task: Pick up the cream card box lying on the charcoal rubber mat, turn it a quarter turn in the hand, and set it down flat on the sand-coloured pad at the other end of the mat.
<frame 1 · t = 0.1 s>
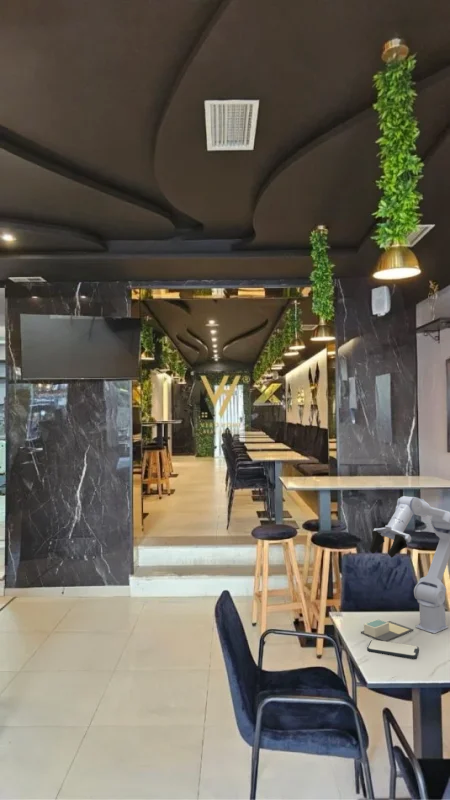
hand: (380, 553, 179), 32 cm above the table, tool tilted 50°, fingers open, 7 cm apart
phone case: (393, 652, 176), on the table
card box: (376, 632, 189), point 1 cm above the table, touching mat
mat: (387, 632, 191), on the table
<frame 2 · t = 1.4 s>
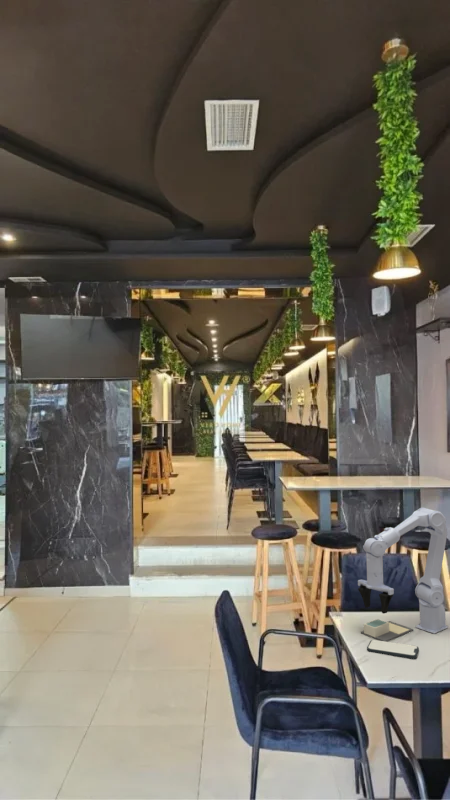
hand: (375, 609, 190), 9 cm above the table, tool pointing down, fingers open, 7 cm apart
nothing on the table moved.
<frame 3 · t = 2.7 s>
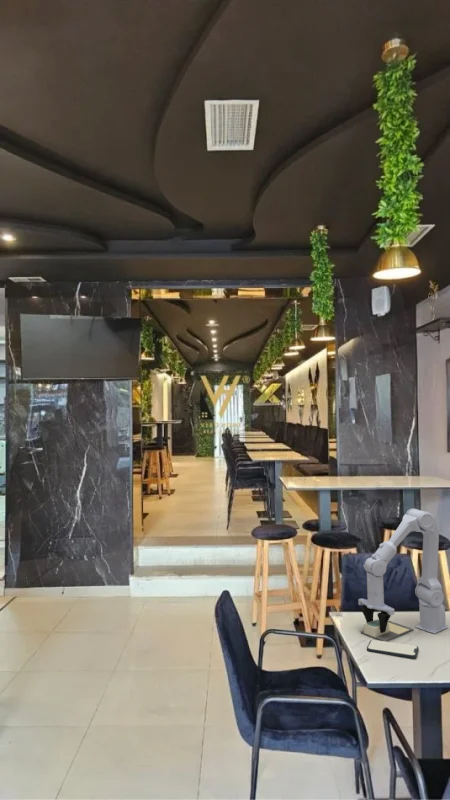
hand: (376, 629, 189), 2 cm above the table, tool pointing down, fingers closed on card box, 5 cm apart
card box: (376, 632, 189), point 1 cm above the table, touching gripper, mat
everything else where it was.
when the fingers open (3 cm above the table, at t = 6.2 s): card box drops 1 cm, resting on mat.
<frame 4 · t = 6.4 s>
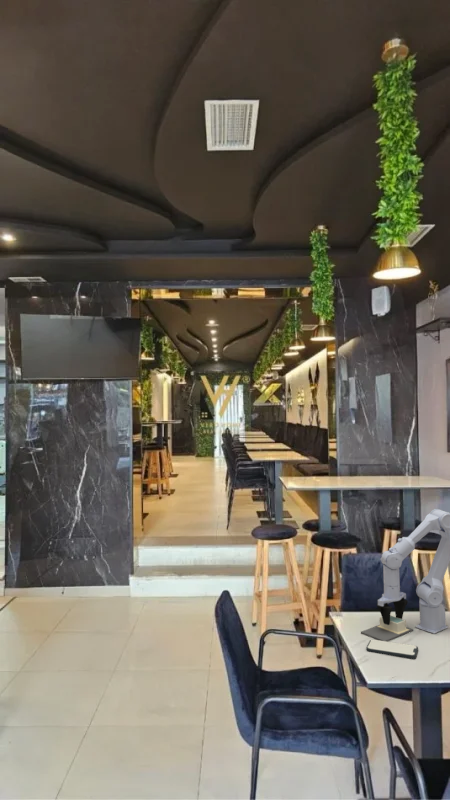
hand: (392, 621, 193), 3 cm above the table, tool pointing down, fingers open, 7 cm apart
card box: (392, 627, 193), point 1 cm above the table, touching mat
everything else where it was.
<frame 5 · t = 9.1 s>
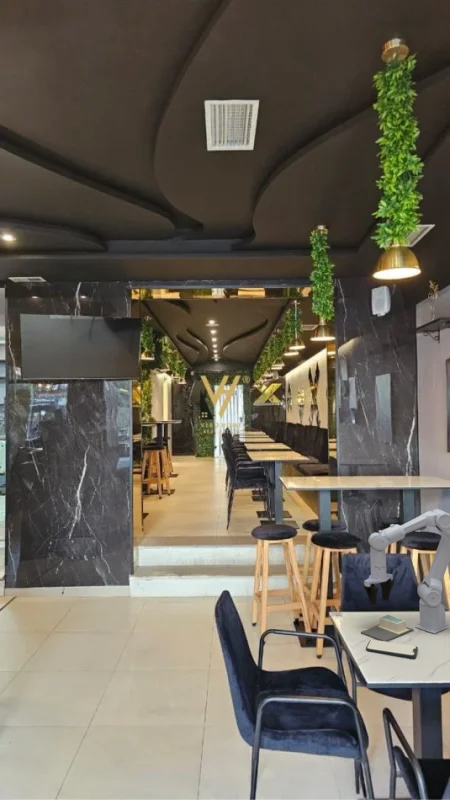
hand: (379, 602, 196), 9 cm above the table, tool pointing down, fingers open, 7 cm apart
nothing on the table moved.
at the end: card box 0.0 cm from the target spot, point 0.7 cm above the table; card box tilted 0°; the gripper is holding nothing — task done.
